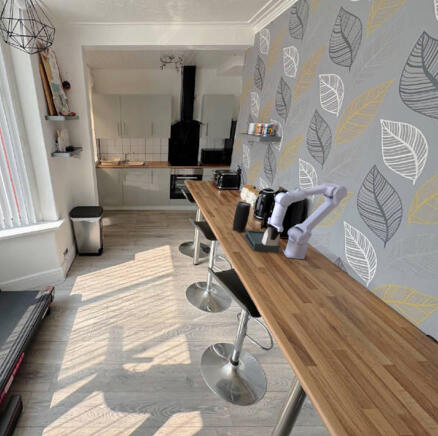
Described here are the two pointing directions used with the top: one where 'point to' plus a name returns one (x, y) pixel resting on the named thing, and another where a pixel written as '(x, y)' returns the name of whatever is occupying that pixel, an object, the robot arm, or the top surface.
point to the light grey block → (269, 238)
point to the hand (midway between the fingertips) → (271, 237)
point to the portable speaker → (241, 216)
